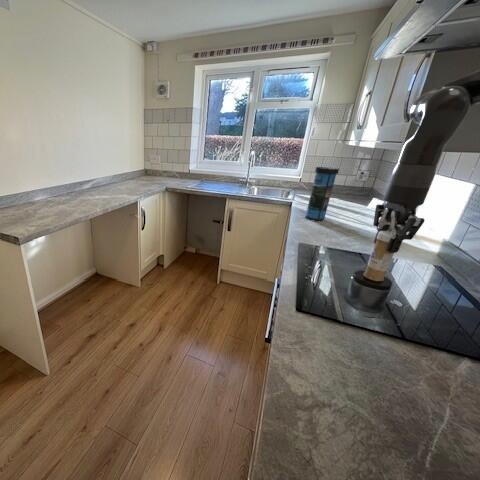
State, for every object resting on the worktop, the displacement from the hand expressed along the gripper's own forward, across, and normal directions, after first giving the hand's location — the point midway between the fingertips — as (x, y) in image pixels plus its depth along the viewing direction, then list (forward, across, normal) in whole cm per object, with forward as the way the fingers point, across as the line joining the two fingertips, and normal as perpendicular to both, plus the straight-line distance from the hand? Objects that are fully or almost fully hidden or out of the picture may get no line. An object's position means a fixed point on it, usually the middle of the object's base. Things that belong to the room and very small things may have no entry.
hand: (384, 247), depth 69 cm
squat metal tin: (+20, 0, 0) cm, 20 cm away
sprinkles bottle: (+10, 0, 0) cm, 10 cm away
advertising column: (+20, +91, -21) cm, 95 cm away
